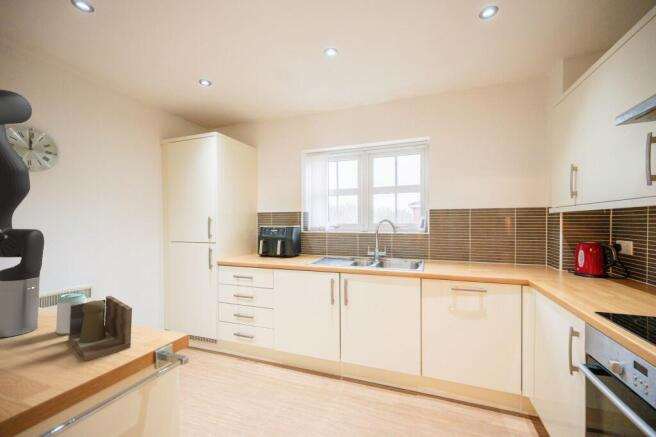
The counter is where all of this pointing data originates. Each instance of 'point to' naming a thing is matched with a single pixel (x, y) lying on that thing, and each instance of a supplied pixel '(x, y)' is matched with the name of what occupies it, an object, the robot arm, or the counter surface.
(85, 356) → the shelf
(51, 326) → the counter surface
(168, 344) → the counter surface
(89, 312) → the cork
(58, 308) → the can
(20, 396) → the counter surface
